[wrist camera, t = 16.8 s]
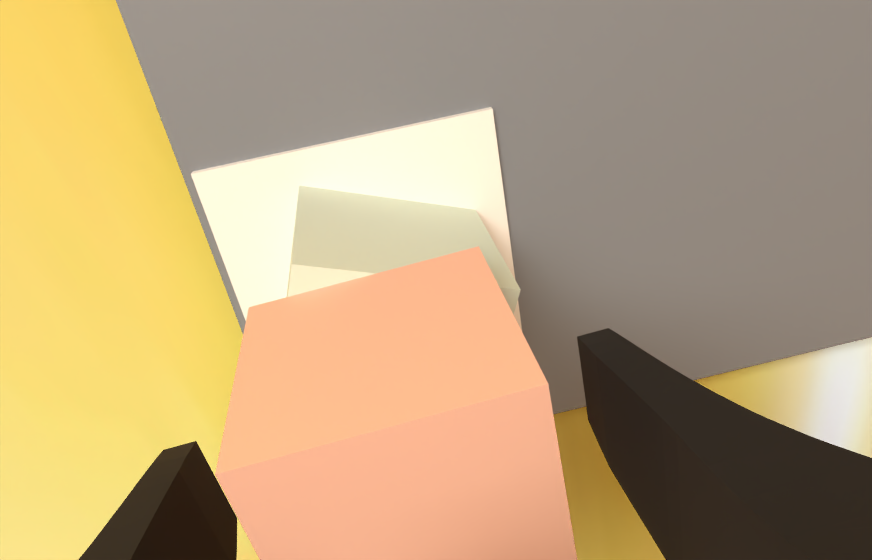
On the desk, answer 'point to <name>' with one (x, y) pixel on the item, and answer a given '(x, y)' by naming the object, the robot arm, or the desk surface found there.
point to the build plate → (550, 154)
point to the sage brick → (381, 238)
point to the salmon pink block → (395, 424)
